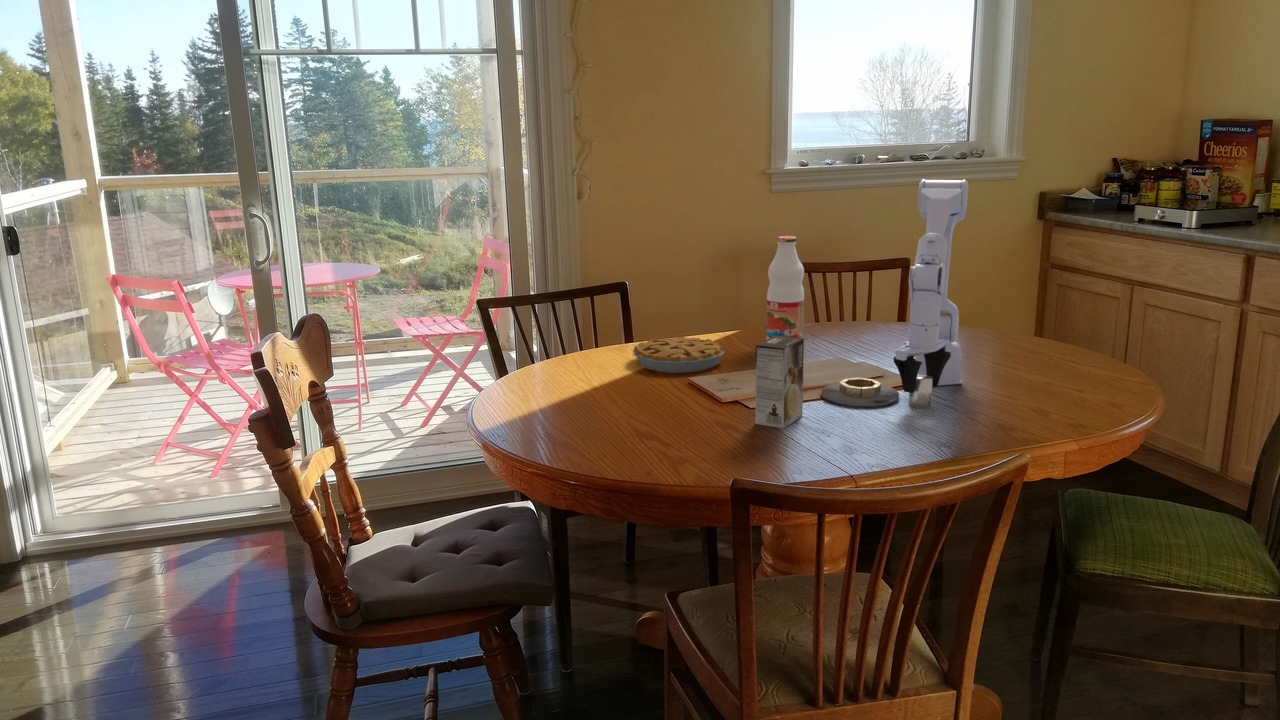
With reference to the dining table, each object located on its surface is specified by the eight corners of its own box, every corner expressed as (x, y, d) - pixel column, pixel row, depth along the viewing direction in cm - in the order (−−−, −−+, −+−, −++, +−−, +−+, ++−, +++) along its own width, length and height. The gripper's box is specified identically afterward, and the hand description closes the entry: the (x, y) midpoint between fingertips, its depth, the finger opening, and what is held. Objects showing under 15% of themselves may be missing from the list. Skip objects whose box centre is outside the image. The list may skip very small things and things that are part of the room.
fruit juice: (810, 345, 247) (813, 236, 240) (784, 351, 242) (787, 240, 235) (784, 338, 255) (786, 233, 248) (758, 344, 249) (760, 237, 242)
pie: (742, 365, 230) (742, 344, 229) (669, 380, 218) (668, 359, 217) (686, 348, 248) (686, 329, 247) (616, 361, 236) (615, 341, 235)
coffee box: (773, 411, 194) (774, 334, 190) (803, 416, 191) (805, 337, 186) (754, 424, 186) (754, 344, 182) (784, 429, 183) (786, 347, 179)
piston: (924, 401, 199) (925, 373, 197) (935, 407, 194) (936, 379, 193) (904, 403, 198) (906, 375, 196) (915, 409, 193) (916, 380, 192)
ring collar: (877, 383, 212) (877, 370, 211) (912, 404, 197) (913, 390, 196) (809, 389, 208) (809, 376, 208) (840, 410, 193) (841, 396, 193)
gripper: (930, 315, 199) (926, 378, 202) (884, 325, 191) (881, 390, 194) (959, 320, 194) (955, 385, 197) (913, 331, 185) (910, 398, 188)
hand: (920, 388), depth 195 cm, fingers open, 7 cm apart
